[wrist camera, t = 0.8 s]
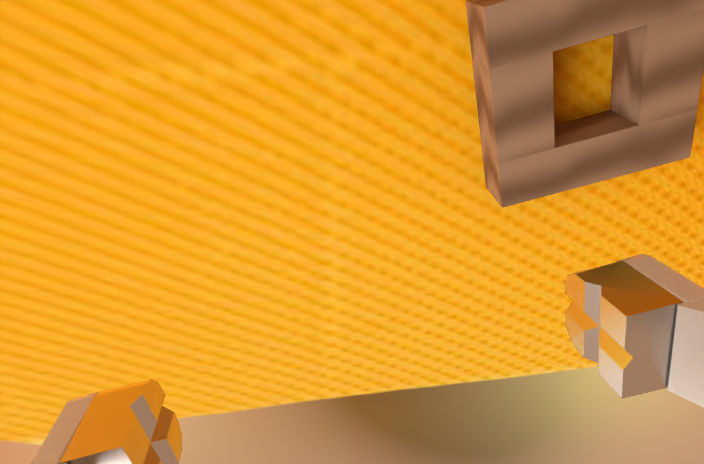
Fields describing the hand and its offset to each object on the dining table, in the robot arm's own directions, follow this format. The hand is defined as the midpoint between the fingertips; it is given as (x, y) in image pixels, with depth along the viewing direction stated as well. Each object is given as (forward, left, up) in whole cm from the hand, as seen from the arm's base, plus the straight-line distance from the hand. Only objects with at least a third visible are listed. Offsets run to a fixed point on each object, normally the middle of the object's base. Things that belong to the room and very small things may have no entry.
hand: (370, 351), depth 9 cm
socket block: (+11, +24, -40) cm, 48 cm away
